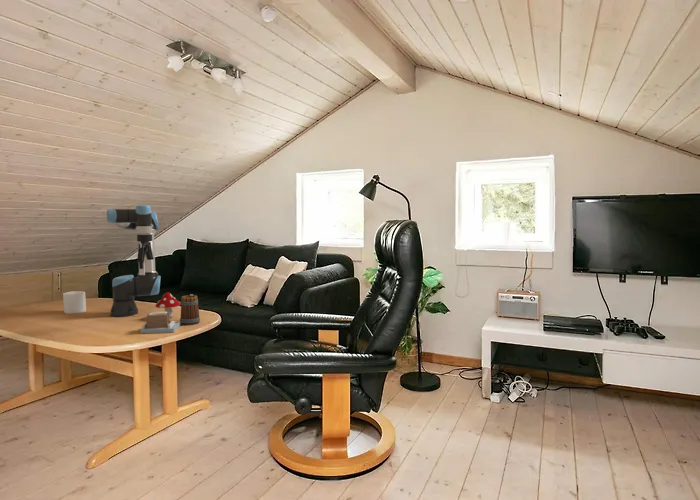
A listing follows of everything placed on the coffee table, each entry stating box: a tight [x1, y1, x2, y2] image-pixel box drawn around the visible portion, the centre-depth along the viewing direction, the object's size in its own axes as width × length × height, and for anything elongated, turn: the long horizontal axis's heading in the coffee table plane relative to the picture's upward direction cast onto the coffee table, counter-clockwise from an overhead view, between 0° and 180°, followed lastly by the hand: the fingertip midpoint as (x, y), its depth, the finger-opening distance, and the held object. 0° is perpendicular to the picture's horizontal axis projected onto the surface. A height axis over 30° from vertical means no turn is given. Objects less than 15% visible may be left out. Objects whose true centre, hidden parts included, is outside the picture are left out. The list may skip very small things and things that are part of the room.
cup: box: [62, 290, 87, 315], centre depth 284 cm, size 12×12×12 cm
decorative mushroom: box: [155, 291, 181, 319], centre depth 267 cm, size 14×14×15 cm
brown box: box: [145, 311, 171, 328], centre depth 239 cm, size 7×10×7 cm
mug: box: [179, 293, 201, 326], centre depth 257 cm, size 16×11×15 cm
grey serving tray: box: [140, 320, 181, 335], centre depth 241 cm, size 15×16×4 cm
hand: (145, 273), depth 248 cm, fingers open, 13 cm apart
